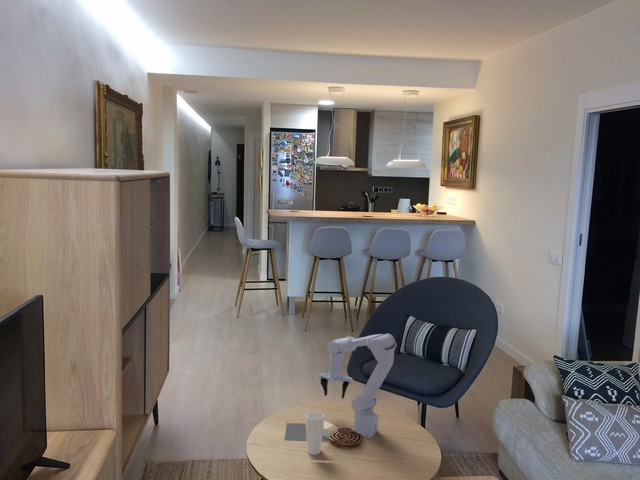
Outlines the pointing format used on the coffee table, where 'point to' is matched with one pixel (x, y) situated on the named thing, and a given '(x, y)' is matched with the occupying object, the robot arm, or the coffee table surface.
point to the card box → (329, 429)
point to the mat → (299, 432)
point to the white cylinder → (314, 432)
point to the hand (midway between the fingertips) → (334, 396)
